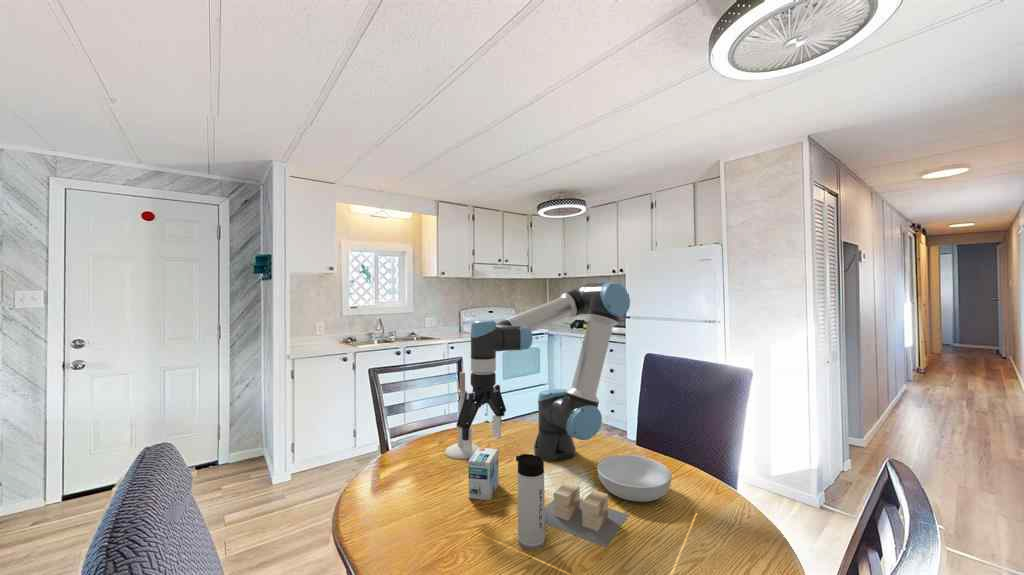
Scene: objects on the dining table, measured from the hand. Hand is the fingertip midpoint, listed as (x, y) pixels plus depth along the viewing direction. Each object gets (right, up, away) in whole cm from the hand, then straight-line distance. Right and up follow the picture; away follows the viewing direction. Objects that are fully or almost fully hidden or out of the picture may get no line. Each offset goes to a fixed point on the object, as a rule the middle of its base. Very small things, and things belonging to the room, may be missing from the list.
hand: (482, 443), depth 116 cm
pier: (+30, -13, -17) cm, 37 cm away
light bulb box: (0, -14, 0) cm, 14 cm away
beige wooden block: (+23, -13, -13) cm, 30 cm away
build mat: (+27, -13, -15) cm, 33 cm away
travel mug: (+13, -13, -25) cm, 31 cm away
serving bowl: (+45, -14, -2) cm, 47 cm away
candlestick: (-10, -15, +29) cm, 34 cm away
